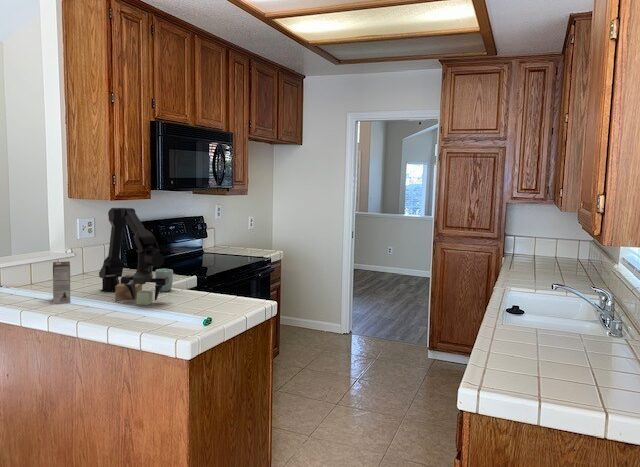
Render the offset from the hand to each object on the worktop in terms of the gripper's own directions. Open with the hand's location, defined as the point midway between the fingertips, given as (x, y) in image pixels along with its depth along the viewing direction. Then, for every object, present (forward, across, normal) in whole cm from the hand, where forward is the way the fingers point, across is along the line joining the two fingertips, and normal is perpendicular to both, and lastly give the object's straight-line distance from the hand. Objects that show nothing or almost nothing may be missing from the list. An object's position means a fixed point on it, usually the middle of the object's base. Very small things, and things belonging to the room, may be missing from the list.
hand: (144, 300), depth 207 cm
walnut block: (+2, -10, +9) cm, 14 cm away
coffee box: (+2, -34, -2) cm, 34 cm away
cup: (+2, +1, +24) cm, 24 cm away
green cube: (+1, 0, 0) cm, 1 cm away
